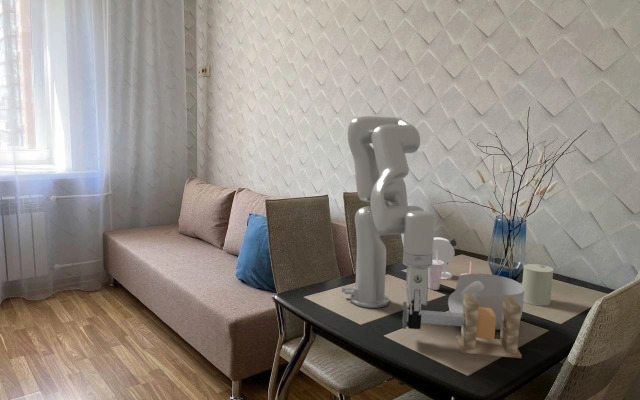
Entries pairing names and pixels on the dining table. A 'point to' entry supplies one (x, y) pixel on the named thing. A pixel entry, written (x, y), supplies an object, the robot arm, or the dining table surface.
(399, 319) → the dining table surface
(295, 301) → the dining table surface
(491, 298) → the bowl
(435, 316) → the shaft
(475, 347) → the bracket
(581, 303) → the dining table surface
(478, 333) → the block
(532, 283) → the can
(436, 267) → the smoothie
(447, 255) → the panda figurine
